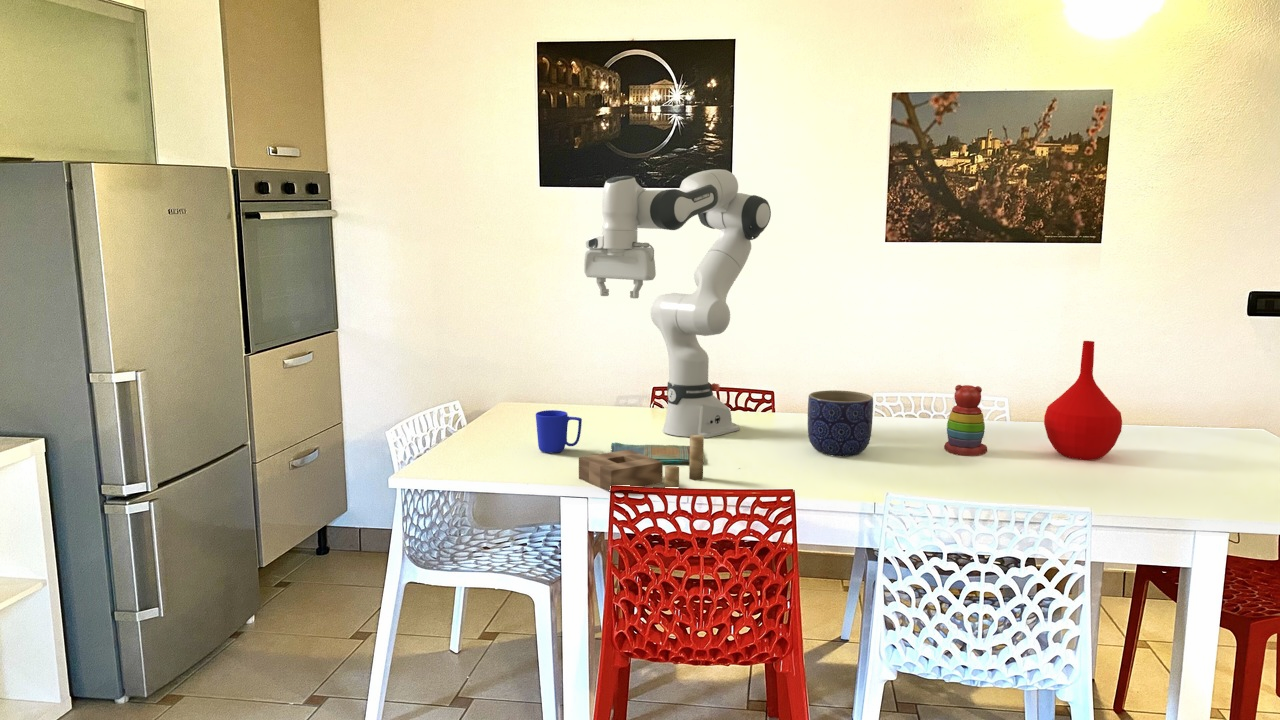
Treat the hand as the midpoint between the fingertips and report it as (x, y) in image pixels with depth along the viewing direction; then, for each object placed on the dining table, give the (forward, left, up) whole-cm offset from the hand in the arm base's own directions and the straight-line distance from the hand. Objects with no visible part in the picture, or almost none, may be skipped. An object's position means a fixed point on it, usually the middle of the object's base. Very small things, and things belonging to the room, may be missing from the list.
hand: (619, 297), depth 245 cm
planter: (-49, +30, -41) cm, 70 cm away
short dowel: (+8, +34, -40) cm, 53 cm away
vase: (-99, +67, -41) cm, 126 cm away
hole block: (+14, +22, -40) cm, 48 cm away
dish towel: (-6, +8, -41) cm, 42 cm away
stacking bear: (-77, +48, -41) cm, 99 cm away
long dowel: (-2, +30, -40) cm, 50 cm away
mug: (+12, -10, -41) cm, 43 cm away
